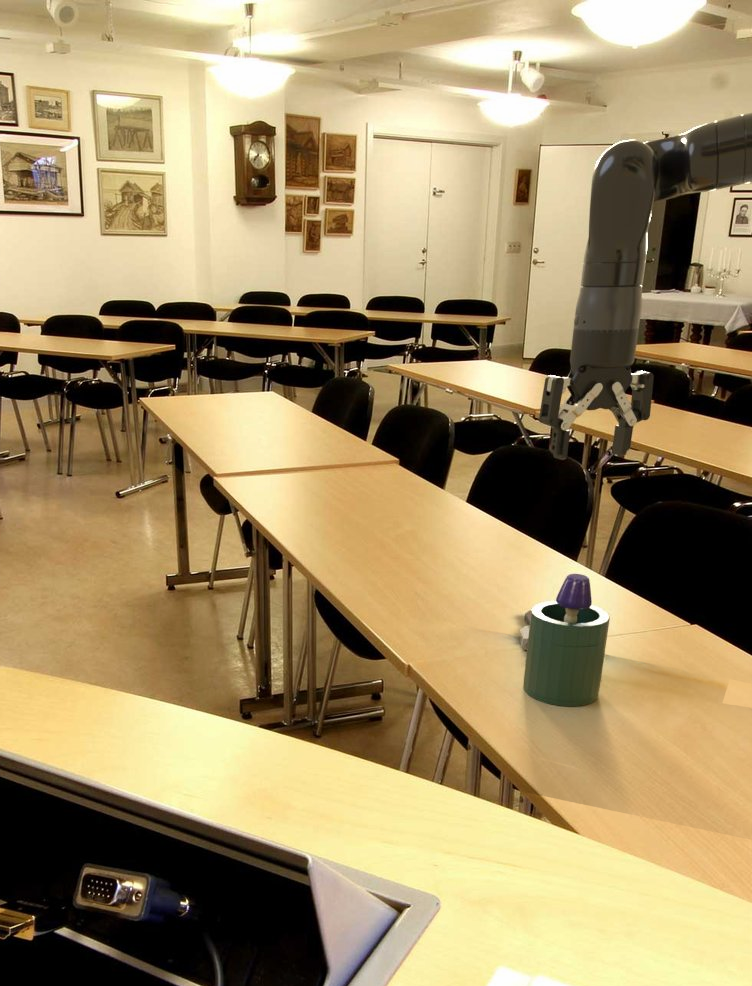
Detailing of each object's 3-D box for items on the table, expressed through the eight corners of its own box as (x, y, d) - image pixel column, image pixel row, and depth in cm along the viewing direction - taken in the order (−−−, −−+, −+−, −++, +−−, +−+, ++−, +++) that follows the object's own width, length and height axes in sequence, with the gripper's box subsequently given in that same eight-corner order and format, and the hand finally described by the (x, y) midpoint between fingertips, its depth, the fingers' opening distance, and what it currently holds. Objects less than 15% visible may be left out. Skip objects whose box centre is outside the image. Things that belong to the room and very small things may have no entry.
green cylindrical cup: (605, 685, 132) (616, 608, 128) (588, 712, 125) (600, 631, 120) (534, 671, 138) (543, 596, 133) (514, 696, 130) (522, 617, 125)
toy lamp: (579, 682, 132) (596, 573, 125) (576, 695, 128) (594, 583, 121) (545, 676, 134) (560, 569, 127) (541, 689, 130) (556, 579, 123)
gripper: (570, 329, 108) (555, 465, 114) (677, 324, 110) (656, 458, 116) (537, 326, 114) (524, 454, 121) (638, 321, 117) (621, 448, 123)
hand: (589, 456), depth 118 cm, fingers open, 8 cm apart
